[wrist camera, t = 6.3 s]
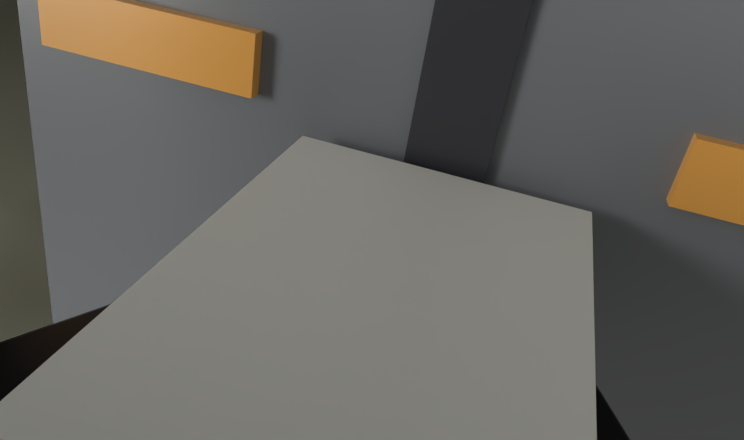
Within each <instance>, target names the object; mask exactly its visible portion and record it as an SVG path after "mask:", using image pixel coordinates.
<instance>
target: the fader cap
mask: <svg viewBox="0 0 744 440" xmlns="http://www.w3.org/2000/svg"><path fill="white" fill-rule="evenodd" d="M0 440H597V422H596V375H595V329H594V282H593V235H592V212H590V211H586V210H582V209H578V208H575V207H571V206H567V205H563V204H559V203H556V202H552V201H548V200H544V199H540V198H537V197H533V196H529V195H525V194H522V193H518V192H514V191H510V190H506V189H503V188H499V187H495V186H491V185H488V184H484V183H480V182H476V181H472V180H469V179H465V178H461V177H457V176H453V175H450V174H446V173H442V172H438V171H435V170H431V169H427V168H423V167H419V166H416V165H412V164H408V163H404V162H400V161H397V160H393V159H389V158H385V157H382V156H378V155H374V154H370V153H366V152H363V151H359V150H355V149H351V148H348V147H344V146H340V145H336V144H332V143H329V142H325V141H321V140H317V139H313V138H310V137H306V136H302V137H301V138H299V139H298V140H297V141H296V142H295V143H294V144H293V145H291V146H290V147H289V148H288V149H287V150H286V151H285V152H284V153H282V154H281V155H280V156H279V157H278V158H277V159H276V160H274V161H273V162H272V163H271V164H270V165H269V166H268V167H266V168H265V169H264V170H263V171H262V172H261V173H260V174H258V175H257V176H256V177H255V178H254V179H253V180H252V181H250V182H249V183H248V184H247V185H246V186H245V187H244V188H243V189H241V190H240V191H239V192H238V193H237V194H236V195H235V196H233V197H232V198H231V199H230V200H229V201H228V202H227V203H225V204H224V205H223V206H222V207H221V208H220V209H219V210H217V211H216V212H215V213H214V214H213V215H212V216H211V217H209V218H208V219H207V220H206V221H205V222H204V223H203V224H202V225H200V226H199V227H198V228H197V229H196V230H195V231H194V232H192V233H191V234H190V235H189V236H188V237H187V238H186V239H184V240H183V241H182V242H181V243H180V244H179V245H178V246H176V247H175V248H174V249H173V250H172V251H171V252H170V253H168V254H167V255H166V256H165V257H164V258H163V259H162V260H160V261H159V262H158V263H157V264H156V265H155V266H154V267H153V268H151V269H150V270H149V271H148V272H147V273H146V274H145V275H143V276H142V277H141V278H140V279H139V280H138V281H137V282H135V283H134V284H133V285H132V286H131V287H130V288H129V289H127V290H126V291H125V292H124V293H123V294H122V295H121V296H119V297H118V298H117V299H116V300H115V301H114V302H113V303H112V304H110V305H109V306H108V307H107V308H106V309H105V310H104V311H102V312H101V313H100V314H99V315H98V316H97V317H96V318H94V319H93V320H92V321H91V322H90V323H89V324H88V325H86V326H85V327H84V328H83V329H82V330H81V331H80V332H78V333H77V334H76V335H75V336H74V337H73V338H72V339H71V340H69V341H68V342H67V343H66V344H65V345H64V346H63V347H61V348H60V349H59V350H58V351H57V352H56V353H55V354H53V355H52V356H51V357H50V358H49V359H48V360H47V361H45V362H44V363H43V364H42V365H41V366H40V367H39V368H37V369H36V370H35V371H34V372H33V373H32V374H31V375H30V376H28V377H27V378H26V379H25V380H24V381H23V382H22V383H20V384H19V385H18V386H17V387H16V388H15V389H14V390H12V391H11V392H10V393H9V394H8V395H7V396H6V397H4V398H3V399H2V400H1V401H0Z"/></svg>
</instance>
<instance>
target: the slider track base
mask: <svg viewBox="0 0 744 440" xmlns="http://www.w3.org/2000/svg"><path fill="white" fill-rule="evenodd" d="M17 5H18V14H19V23H20V32H21V41H22V50H23V58H24V67H25V76H26V85H27V94H28V103H29V112H30V121H31V130H32V139H33V148H34V157H35V166H36V174H37V183H38V192H39V201H40V210H41V219H42V228H43V237H44V246H45V255H46V264H47V273H48V281H49V290H50V299H51V308H52V317H53V324H54V323H57V322H60V321H63V320H66V319H68V318H71V317H74V316H77V315H80V314H83V313H86V312H88V311H91V310H94V309H97V308H100V307H103V306H106V305H108V304H111V303H113V302H114V301H115V300H116V299H117V298H118V297H119V296H121V295H122V294H123V293H124V292H125V291H126V290H127V289H129V288H130V287H131V286H132V285H133V284H134V283H135V282H137V281H138V280H139V279H140V278H141V277H142V276H143V275H145V274H146V273H147V272H148V271H149V270H150V269H151V268H153V267H154V266H155V265H156V264H157V263H158V262H159V261H160V260H162V259H163V258H164V257H165V256H166V255H167V254H168V253H170V252H171V251H172V250H173V249H174V248H175V247H176V246H178V245H179V244H180V243H181V242H182V241H183V240H184V239H186V238H187V237H188V236H189V235H190V234H191V233H192V232H194V231H195V230H196V229H197V228H198V227H199V226H200V225H202V224H203V223H204V222H205V221H206V220H207V219H208V218H209V217H211V216H212V215H213V214H214V213H215V212H216V211H217V210H219V209H220V208H221V207H222V206H223V205H224V204H225V203H227V202H228V201H229V200H230V199H231V198H232V197H233V196H235V195H236V194H237V193H238V192H239V191H240V190H241V189H243V188H244V187H245V186H246V185H247V184H248V183H249V182H250V181H252V180H253V179H254V178H255V177H256V176H257V175H258V174H260V173H261V172H262V171H263V170H264V169H265V168H266V167H268V166H269V165H270V164H271V163H272V162H273V161H274V160H276V159H277V158H278V157H279V156H280V155H281V154H282V153H284V152H285V151H286V150H287V149H288V148H289V147H290V146H291V145H293V144H294V143H295V142H296V141H297V140H298V139H299V138H301V137H302V136H306V137H310V138H313V139H317V140H321V141H325V142H329V143H332V144H336V145H340V146H344V147H348V148H351V149H355V150H359V151H363V152H366V153H370V154H374V155H378V156H382V157H385V158H389V159H393V160H397V161H400V162H404V163H408V164H412V165H416V166H419V167H423V168H427V169H431V170H435V171H438V172H442V173H446V174H450V175H453V176H457V177H461V178H465V179H469V180H472V181H476V182H480V183H484V184H488V185H491V186H495V187H499V188H503V189H506V190H510V191H514V192H518V193H522V194H525V195H529V196H533V197H537V198H540V199H544V200H548V201H552V202H556V203H559V204H563V205H567V206H571V207H575V208H578V209H582V210H586V211H590V212H592V235H593V282H594V329H595V375H596V385H597V386H598V388H599V390H600V391H601V393H602V395H603V396H604V398H605V399H606V401H607V403H608V404H609V406H610V408H611V409H612V411H613V412H614V414H615V416H616V417H617V419H618V421H619V422H620V424H621V425H622V427H623V429H624V430H625V432H626V434H627V435H628V437H629V438H630V440H744V0H17Z"/></svg>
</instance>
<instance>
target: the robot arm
mask: <svg viewBox="0 0 744 440" xmlns="http://www.w3.org/2000/svg"><path fill="white" fill-rule="evenodd" d="M111 304H112V303H111ZM109 305H110V304H108V305H106V306H103V307H100V308H97V309H94V310H91V311H88V312H86V313H83V314H80V315H77V316H74V317H71V318H68V319H66V320H63V321H60V322H57V323H54V324H51V325H48V326H46V327H43V328H40V329H37V330H34V331H31V332H28V333H25V334H23V335H20V336H17V337H14V338H11V339H8V340H5V341H3V342H0V401H1V400H2V399H3V398H4V397H6V396H7V395H8V394H9V393H10V392H11V391H12V390H14V389H15V388H16V387H17V386H18V385H19V384H20V383H22V382H23V381H24V380H25V379H26V378H27V377H28V376H30V375H31V374H32V373H33V372H34V371H35V370H36V369H37V368H39V367H40V366H41V365H42V364H43V363H44V362H45V361H47V360H48V359H49V358H50V357H51V356H52V355H53V354H55V353H56V352H57V351H58V350H59V349H60V348H61V347H63V346H64V345H65V344H66V343H67V342H68V341H69V340H71V339H72V338H73V337H74V336H75V335H76V334H77V333H78V332H80V331H81V330H82V329H83V328H84V327H85V326H86V325H88V324H89V323H90V322H91V321H92V320H93V319H94V318H96V317H97V316H98V315H99V314H100V313H101V312H102V311H104V310H105V309H106V308H107V307H108V306H109ZM596 422H597V440H630V438H629V437H628V435H627V434H626V432H625V430H624V429H623V427H622V425H621V424H620V422H619V421H618V419H617V417H616V416H615V414H614V412H613V411H612V409H611V408H610V406H609V404H608V403H607V401H606V399H605V398H604V396H603V395H602V393H601V391H600V390H599V388H598V386H597V385H596Z"/></svg>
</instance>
